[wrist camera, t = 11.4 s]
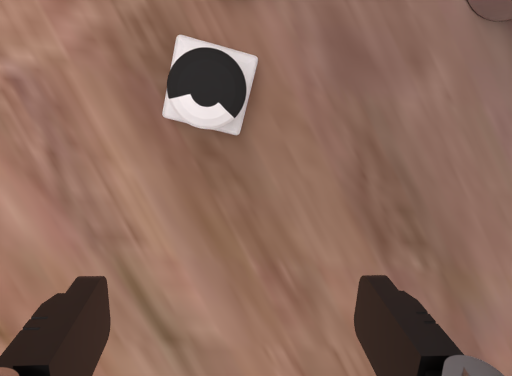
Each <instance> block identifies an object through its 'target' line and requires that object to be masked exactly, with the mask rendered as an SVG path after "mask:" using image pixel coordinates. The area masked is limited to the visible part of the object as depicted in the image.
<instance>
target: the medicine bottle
mask: <svg viewBox="0 0 512 376" xmlns="http://www.w3.org/2000/svg"><path fill="white" fill-rule="evenodd" d="M257 63H258V58H257V57H256V56H255V55H251V54H248V53H244V52H241V51H237V50H234V49H230V48H227V47H223V46H220V45H216V44H213V43H209V42H206V41H202V40H198V39H195V38H191V37H188V36H184V35H178V36H177V38H176V42H175V48H174V53H173V58H172V64H171V69H170V72H169V75H168V80H167V91H166V96H165V102H164V107H163V112H162V114H163V116H164V117H165V118H168V119H172V120H176V121H180V122H184V123H188V124H190V125H192V126H194V127H198V128H202V129H212V130H216V131H220V132H224V133H229V134H233V135H238V134H240V131H241V127H242V123H243V119H244V115H245V111H246V107H247V103H248V99H249V95H250V91H251V87H252V83H253V79H254V75H255V71H256V67H257Z"/></svg>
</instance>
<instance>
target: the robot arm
mask: <svg viewBox="0 0 512 376" xmlns="http://www.w3.org/2000/svg"><path fill="white" fill-rule="evenodd" d="M468 2H469V4H470V6H471V7H472V9H473V10H474V11H475V12H476V13H477V14H478V15H480V16H482V17H483V18H485V19H488V20H492V21H505V20H510V19H512V0H468ZM354 326H355V332H356V335H357V337H358V339H359V341H360V343H361V345H362V347H363V349H364V351H365V353H366V355H367V357H368V359H369V361H370V363H371V365H372V367H373V369H374V371H375V373H376V375H377V376H504V375H503V374H502V373H501V372H499V371H498V370H497V369H496V368H494V367H493V366H491V365H490V364H488V363H486V362H484V361H482V360H480V359H477V358H474V357H471V356H466V355H464V354H463V353H462V352H461V351H460V350H459V348H458V347H457V346H456V345H455V344H454V342H453V341H452V340H451V339H450V338H449V337H448V335H447V334H446V333H445V332H444V331H443V329H442V328H441V327H440V326H439V325H438V324H436V322H435V320H434V319H433V318H432V317H431V315H430V314H428V313H427V311H426V309H425V308H424V307H423V306H422V305H421V304H420V302H419V301H418V300H416V299H415V298H413V297H412V296H410V295H409V294H407V293H406V292H404V291H399V290H398V289H397V288H396V287H395V285H394V284H393V283H392V282H391V280H390V279H389V278H388V277H387V276H385V275H372V276H362V277H361V278H360V281H359V287H358V294H357V301H356V307H355V314H354ZM109 332H110V310H109V299H108V288H107V280H106V278H105V277H104V276H79V277H77V278H76V279H75V281H74V282H73V283H72V285H71V286H70V288H69V289H68V290H67V292H66V293H57V294H56V295H54V296H53V297H51V298H50V299H48V300H47V301H46V302H44V303H43V304H41V305H40V307H39V308H38V309H37V311H36V312H35V313H34V314H33V316H32V317H31V319H29V321H28V322H27V323H26V324H25V326H24V327H23V330H21V331H20V332H19V333H18V334H17V336H16V337H15V338H14V340H13V341H12V342H11V343H10V345H9V346H8V347H7V348H6V350H5V351H4V352H3V353H2V355H1V356H0V376H92V375H93V372H94V370H95V368H96V366H97V363H98V361H99V359H100V356H101V354H102V352H103V350H104V347H105V345H106V343H107V340H108V337H109Z"/></svg>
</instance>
